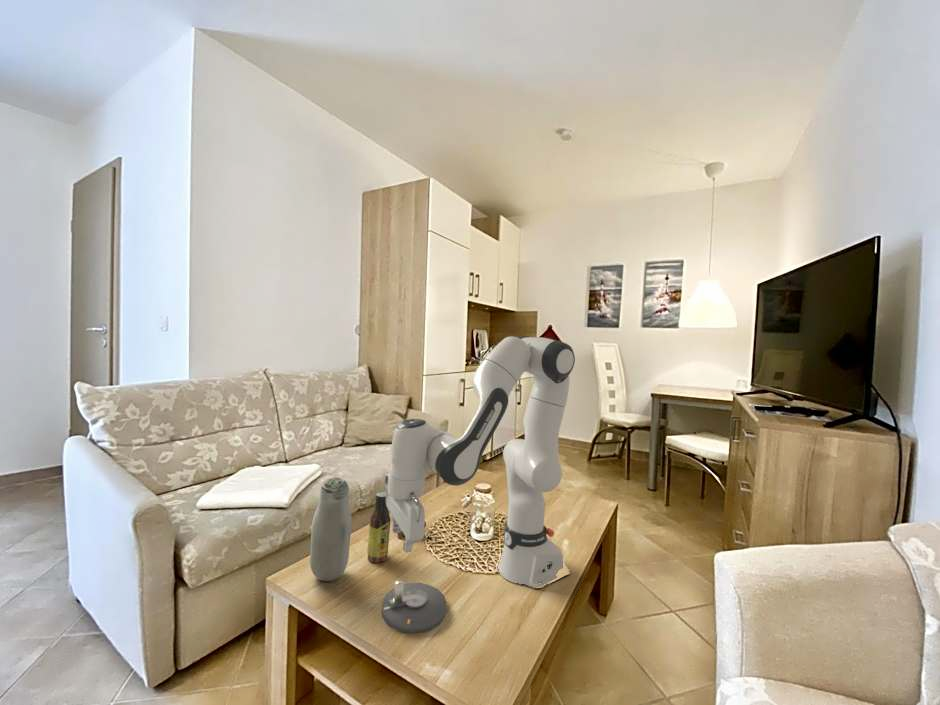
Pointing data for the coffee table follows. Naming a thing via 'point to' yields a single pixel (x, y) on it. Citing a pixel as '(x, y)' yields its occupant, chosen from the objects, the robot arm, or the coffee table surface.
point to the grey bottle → (331, 531)
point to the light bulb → (407, 597)
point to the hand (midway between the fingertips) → (401, 540)
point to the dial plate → (415, 611)
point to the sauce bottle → (379, 530)
